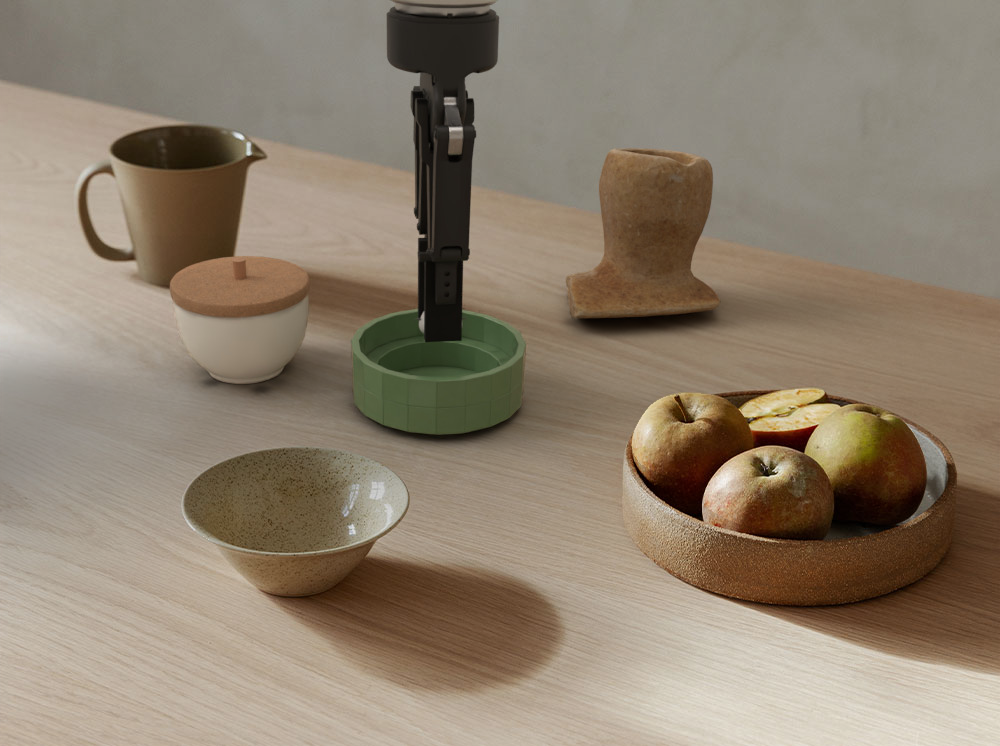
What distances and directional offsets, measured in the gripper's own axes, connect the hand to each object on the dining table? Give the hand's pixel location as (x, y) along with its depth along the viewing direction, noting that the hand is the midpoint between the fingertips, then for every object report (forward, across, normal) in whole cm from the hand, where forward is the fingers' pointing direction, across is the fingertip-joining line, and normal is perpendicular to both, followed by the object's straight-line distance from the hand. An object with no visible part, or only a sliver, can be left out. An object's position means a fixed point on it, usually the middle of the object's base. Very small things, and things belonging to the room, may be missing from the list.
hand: (439, 328), depth 84 cm
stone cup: (+6, +17, -21) cm, 28 cm away
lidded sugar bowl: (+6, +7, +15) cm, 18 cm away
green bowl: (+6, 0, 0) cm, 6 cm away
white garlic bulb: (0, 0, 0) cm, 0 cm away
